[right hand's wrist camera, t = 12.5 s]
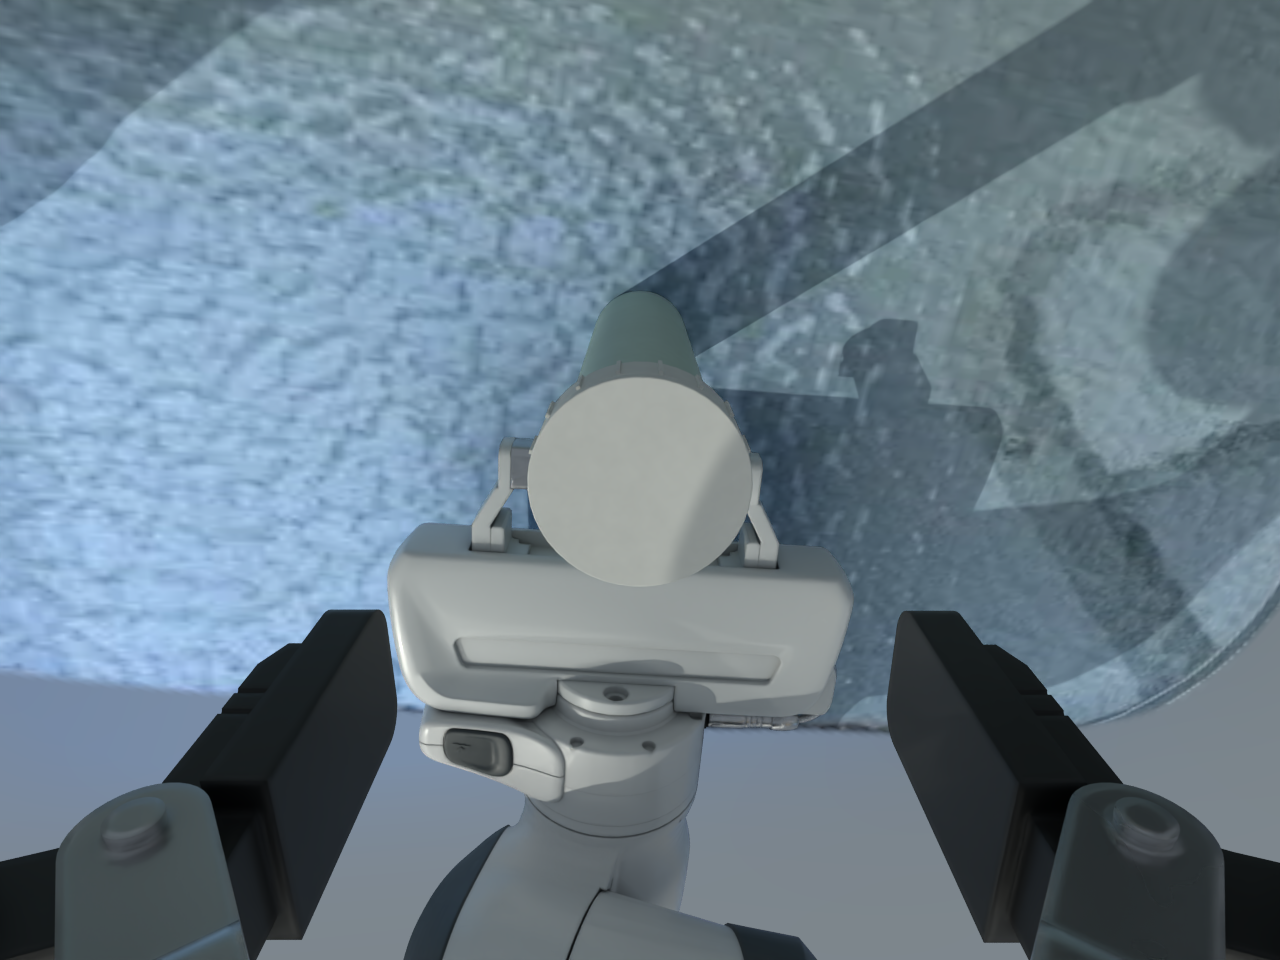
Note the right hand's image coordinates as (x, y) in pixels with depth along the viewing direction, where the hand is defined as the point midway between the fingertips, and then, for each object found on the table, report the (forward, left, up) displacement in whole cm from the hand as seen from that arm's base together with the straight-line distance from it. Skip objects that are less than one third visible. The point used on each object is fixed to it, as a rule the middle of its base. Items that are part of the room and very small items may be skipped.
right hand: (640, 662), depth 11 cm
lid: (0, 0, -8) cm, 8 cm away
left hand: (0, +4, -21) cm, 21 cm away
